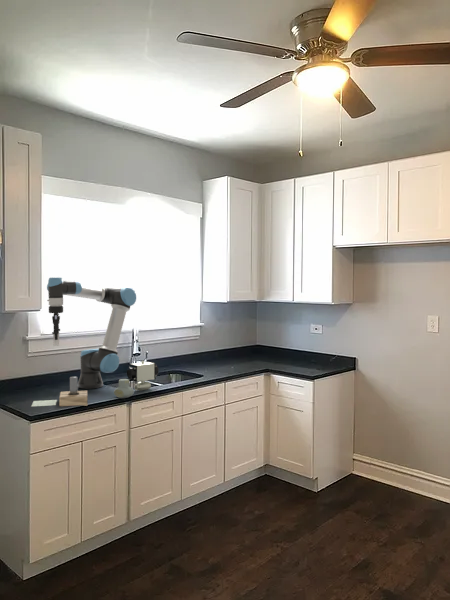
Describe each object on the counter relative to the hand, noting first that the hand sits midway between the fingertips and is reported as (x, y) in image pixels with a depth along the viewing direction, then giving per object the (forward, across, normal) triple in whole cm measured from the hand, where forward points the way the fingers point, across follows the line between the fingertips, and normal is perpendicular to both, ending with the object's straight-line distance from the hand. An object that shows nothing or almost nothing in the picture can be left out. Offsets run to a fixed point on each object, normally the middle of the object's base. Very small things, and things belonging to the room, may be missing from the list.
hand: (56, 344), depth 275 cm
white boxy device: (+31, -11, +48) cm, 59 cm away
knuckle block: (+31, +11, +9) cm, 34 cm away
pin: (+31, +11, +8) cm, 34 cm away
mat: (+30, +9, -6) cm, 32 cm away
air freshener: (+31, +4, +36) cm, 48 cm away
